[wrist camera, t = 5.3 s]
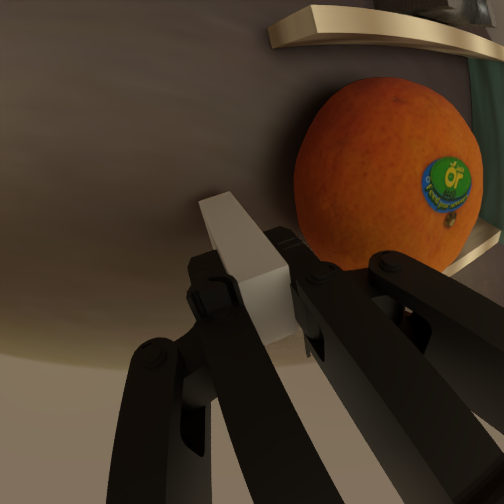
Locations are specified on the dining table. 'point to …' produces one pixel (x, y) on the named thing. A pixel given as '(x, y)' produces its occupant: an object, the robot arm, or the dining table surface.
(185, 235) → the dining table surface
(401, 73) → the dining table surface
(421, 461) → the robot arm
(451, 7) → the dark grey bracket
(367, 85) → the fruit
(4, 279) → the dining table surface
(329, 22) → the bay
